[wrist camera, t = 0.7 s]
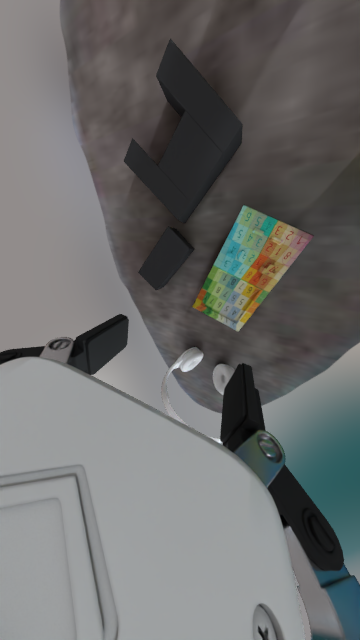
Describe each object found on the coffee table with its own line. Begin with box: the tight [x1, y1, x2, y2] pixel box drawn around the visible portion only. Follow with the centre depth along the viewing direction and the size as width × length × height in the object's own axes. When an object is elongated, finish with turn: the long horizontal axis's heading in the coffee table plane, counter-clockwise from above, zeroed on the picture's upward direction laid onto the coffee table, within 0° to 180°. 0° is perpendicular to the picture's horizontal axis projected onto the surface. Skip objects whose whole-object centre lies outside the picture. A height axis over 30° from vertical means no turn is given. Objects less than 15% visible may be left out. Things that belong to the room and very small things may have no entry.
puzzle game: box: [192, 205, 314, 332], centre depth 29 cm, size 12×5×20 cm
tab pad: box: [138, 226, 194, 290], centre depth 33 cm, size 12×6×4 cm, turn 139°
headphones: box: [161, 347, 235, 443], centre depth 34 cm, size 7×18×20 cm, turn 68°
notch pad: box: [124, 39, 242, 223], centre depth 24 cm, size 14×14×4 cm
